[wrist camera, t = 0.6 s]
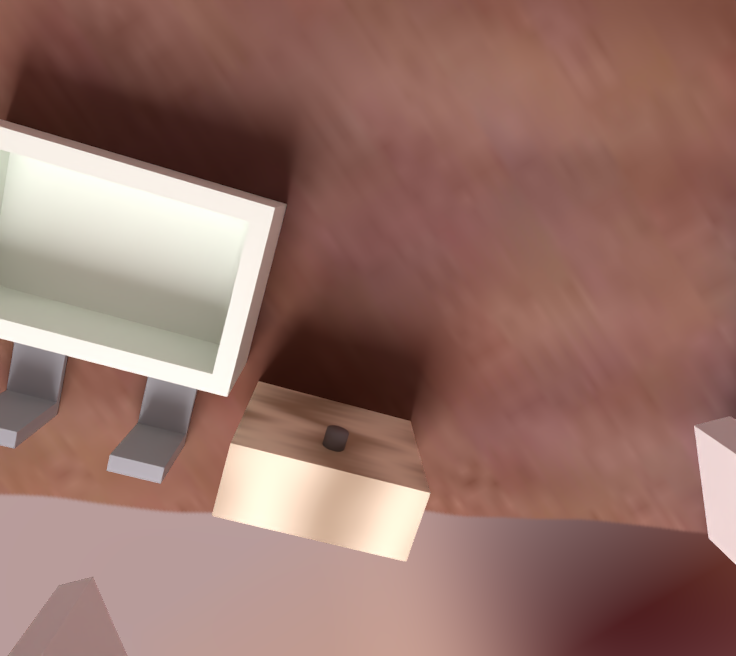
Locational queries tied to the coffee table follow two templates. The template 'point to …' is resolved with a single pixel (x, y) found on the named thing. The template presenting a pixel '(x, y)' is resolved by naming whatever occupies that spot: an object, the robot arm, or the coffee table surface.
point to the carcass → (124, 284)
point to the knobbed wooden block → (324, 473)
